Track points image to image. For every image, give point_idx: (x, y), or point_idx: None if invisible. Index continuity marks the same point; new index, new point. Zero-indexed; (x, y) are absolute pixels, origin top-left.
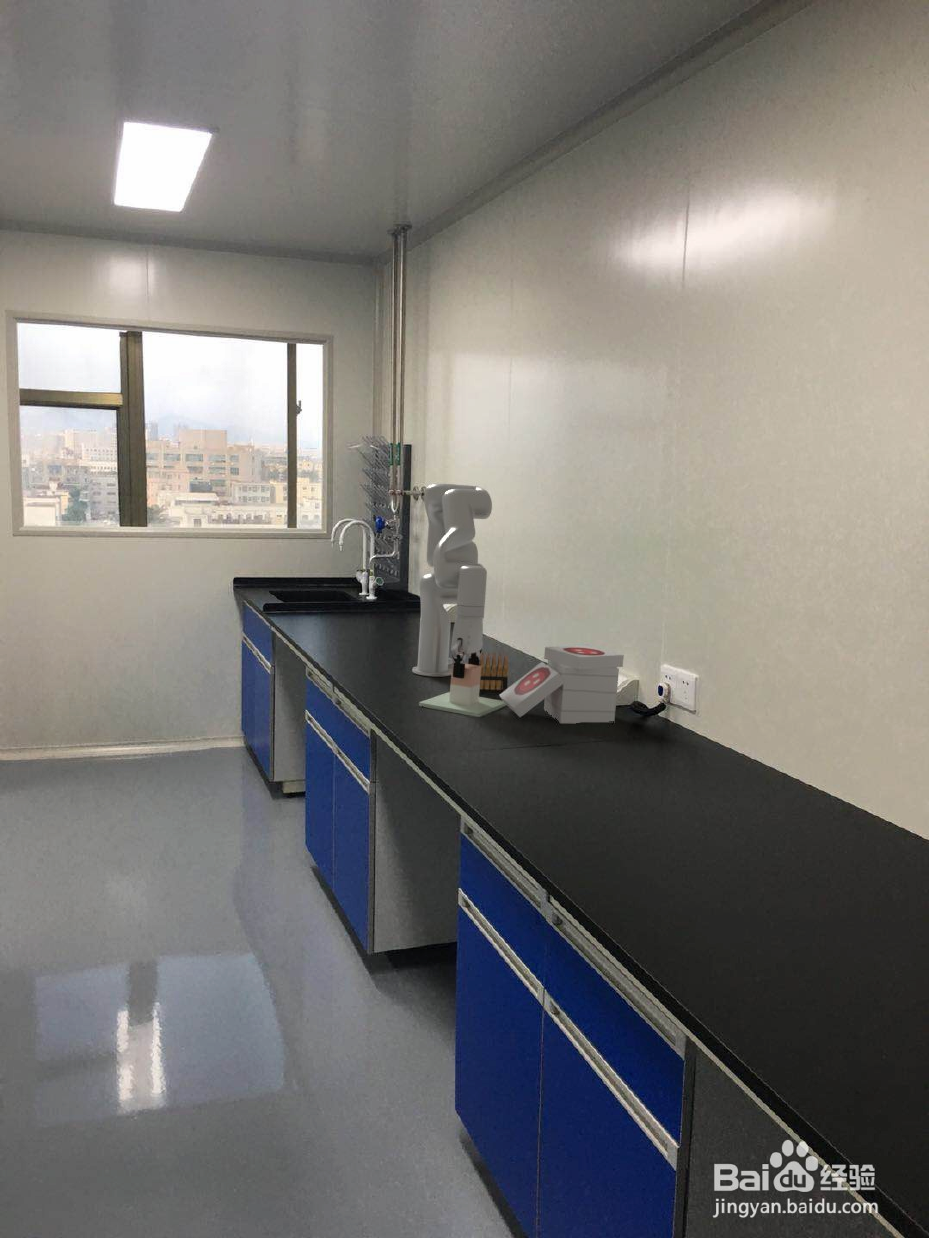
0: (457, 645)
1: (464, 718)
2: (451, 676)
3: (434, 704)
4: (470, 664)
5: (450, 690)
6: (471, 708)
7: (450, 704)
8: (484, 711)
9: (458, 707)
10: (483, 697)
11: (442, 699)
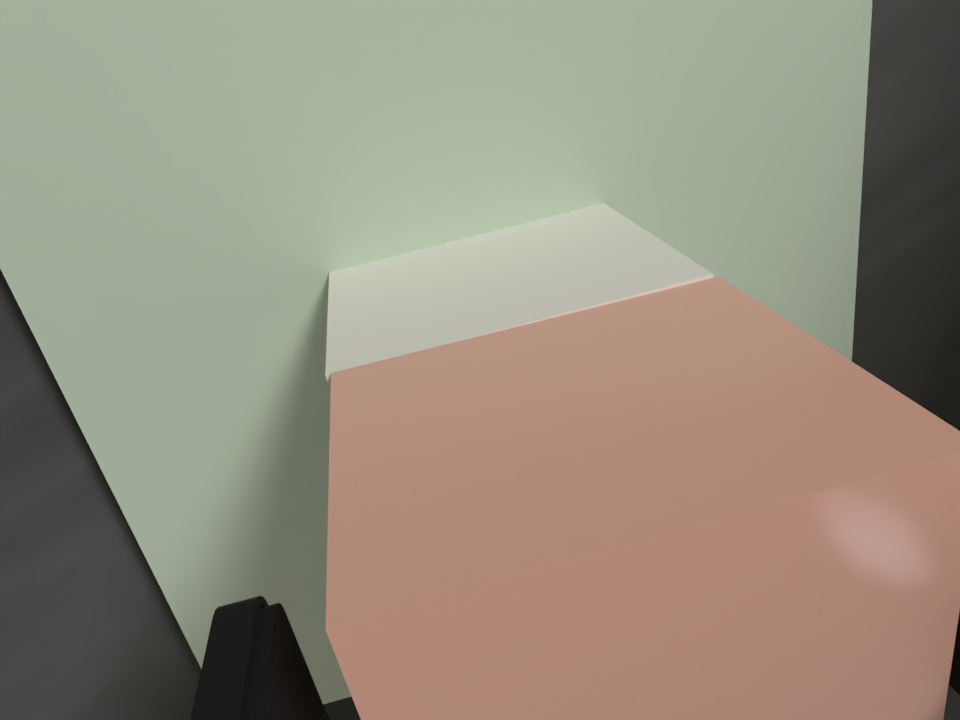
0: None
1: (69, 678)
2: (333, 456)
3: (33, 252)
4: (934, 666)
5: (327, 339)
6: (319, 586)
7: (246, 362)
8: (346, 696)
9: (224, 500)
10: (852, 332)
11: (367, 111)
